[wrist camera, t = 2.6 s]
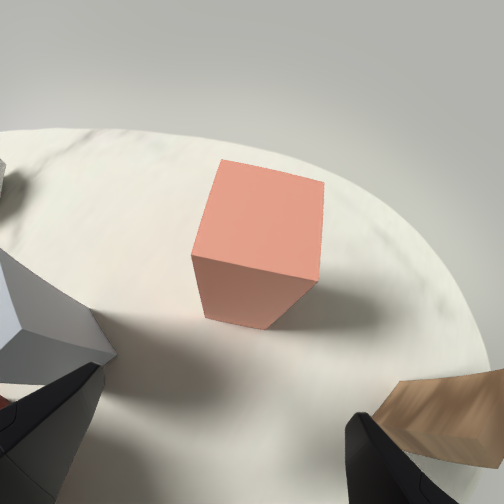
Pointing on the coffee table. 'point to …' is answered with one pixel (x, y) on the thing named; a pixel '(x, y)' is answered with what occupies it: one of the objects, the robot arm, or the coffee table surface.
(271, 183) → the salmon block
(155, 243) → the coffee table surface
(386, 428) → the walnut pillar
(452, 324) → the coffee table surface
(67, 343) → the slate pillar
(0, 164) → the die
